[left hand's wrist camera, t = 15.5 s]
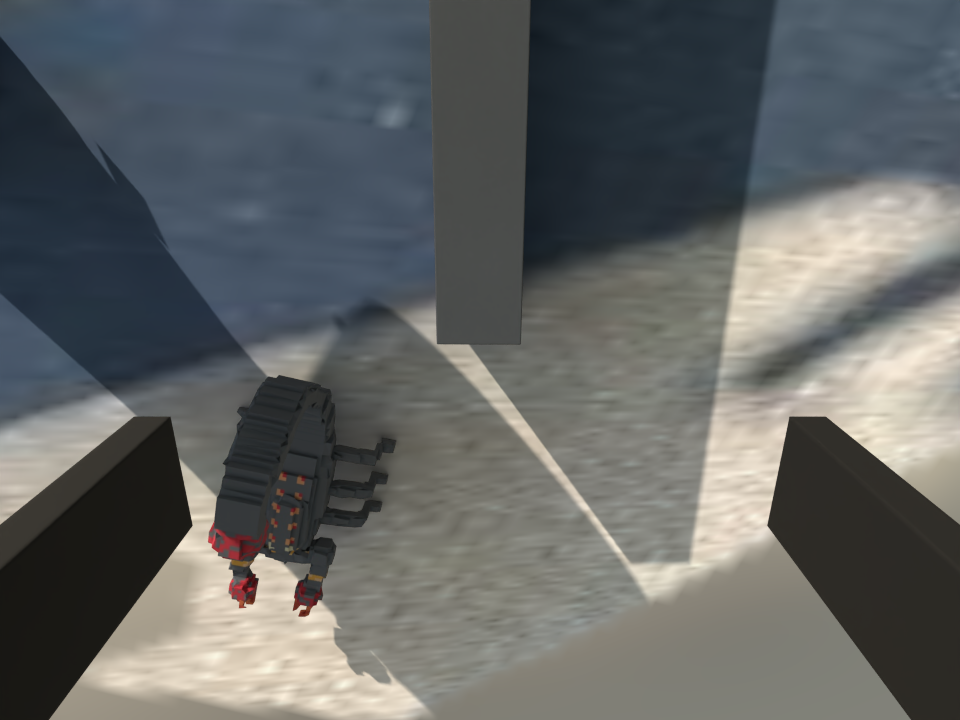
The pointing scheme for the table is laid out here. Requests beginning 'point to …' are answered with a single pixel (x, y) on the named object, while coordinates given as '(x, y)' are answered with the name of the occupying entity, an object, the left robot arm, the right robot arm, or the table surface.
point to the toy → (287, 487)
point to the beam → (479, 166)
